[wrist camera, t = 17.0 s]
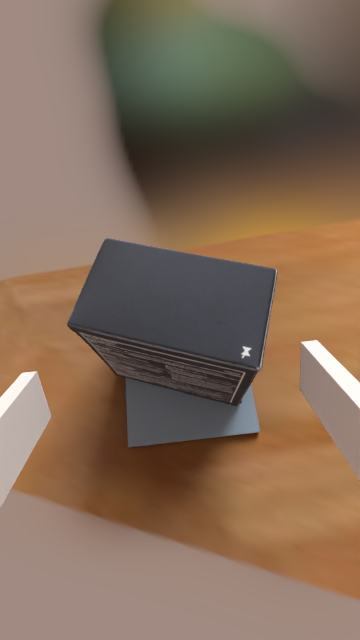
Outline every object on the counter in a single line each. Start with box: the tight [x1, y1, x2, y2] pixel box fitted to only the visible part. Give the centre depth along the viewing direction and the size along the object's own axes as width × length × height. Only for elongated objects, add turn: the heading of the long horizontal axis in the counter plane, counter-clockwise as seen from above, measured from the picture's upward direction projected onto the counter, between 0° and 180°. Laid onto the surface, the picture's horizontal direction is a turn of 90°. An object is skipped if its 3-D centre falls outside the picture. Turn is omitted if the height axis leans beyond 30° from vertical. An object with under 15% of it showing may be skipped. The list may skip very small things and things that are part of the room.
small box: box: [67, 238, 277, 406], centre depth 22 cm, size 11×6×10 cm, turn 75°
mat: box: [125, 377, 260, 447], centre depth 27 cm, size 10×13×1 cm
